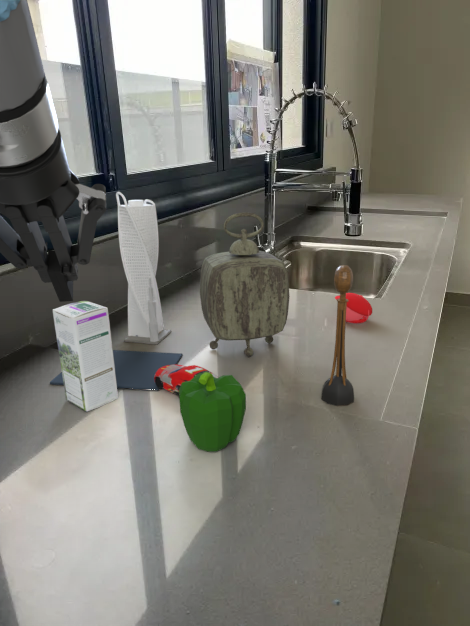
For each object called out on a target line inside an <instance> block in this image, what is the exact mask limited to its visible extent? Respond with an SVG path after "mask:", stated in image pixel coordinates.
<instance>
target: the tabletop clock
mask: <svg viewBox="0 0 470 626" xmlns="http://www.w3.org/2000/svg"><path fill="white" fill-rule="evenodd" d="M242 217H243V218H245V217H251V218H254V219H256V220H258V221H259V223H260V228H259V229H257V230H256V231H253V232H249V233H248V230H247V229H246V228H243V229H241V230H240V233H234V232H231V231H229V230H228V229H227V225H228V224H229V222H231V221H232V220H234V219H236V218H242ZM264 228H265V223H264V220H263V219H262V217H260V215H259V214H256V213H254V212H248V211H247V212H245V211H243V212H237V213H234V214H232V215H230V216H228V217H227V218H226V219H225V221H224V223H223V231H224V232H225V234H227V236H230V237H232V238H235V239H237V240H235V241H234V242H233V243H231V246H230V247H229V250H228V251H223V252H218V253H216V252H215V253H214V254H210V255H208V256H207V257H205V258H204V260H203V261H202V265H201V269H200V276H199V277H200V279H199V296H200V297H199V298H200V306H201V311H202V315H203V316H202V317H203V319H204V321H205V322H206V324H207V326H208V328H209V330H210V331H211V333H212V334H213V336H214V338H215V339H214V340H210V342H209V343H208V345H209V349H211V350H216V349H218V347H219V343H218V342H219V341H220V340H222V341H245V344H246V345H245V346H246V348H245V349H243V352H244V355H245V356H246V357H252V356H253V355H254V350H253V348H251V340H256V339H257V340H258V339H263V338H264V341H265V343H266V344H272V343H273V341H274V336H275V335H278V334H280V332H284V329H285V327H286V324H287V320H288V315H289V309H290V308H289V307H290V297H291V296H290V280H289V274H288V269H287V266H286V264H285V261H283V260H281V259H280V258H278V257H276V256H275V255H273V254H272V253H269V252H266V251H265V250H264V251H263V250H260V249H259V247H258V245H257V244H256V242H255V241H254V240H252V239H248V238H253V237H255V236H257V235H259V234H260V233H262V232H263V230H264Z"/></svg>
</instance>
